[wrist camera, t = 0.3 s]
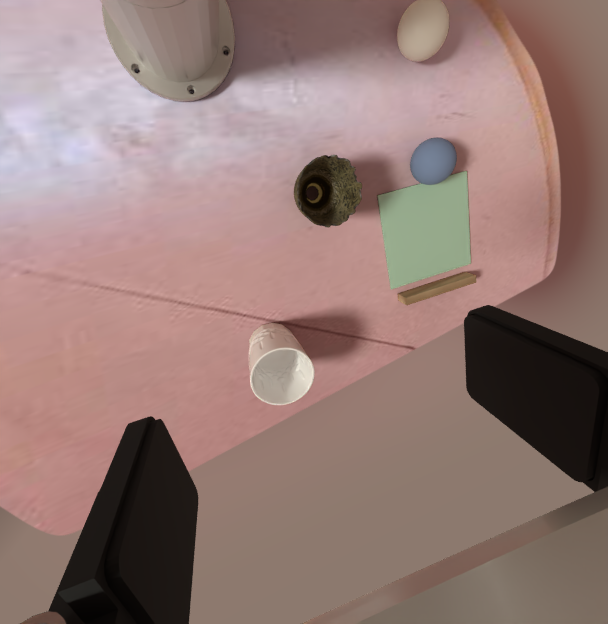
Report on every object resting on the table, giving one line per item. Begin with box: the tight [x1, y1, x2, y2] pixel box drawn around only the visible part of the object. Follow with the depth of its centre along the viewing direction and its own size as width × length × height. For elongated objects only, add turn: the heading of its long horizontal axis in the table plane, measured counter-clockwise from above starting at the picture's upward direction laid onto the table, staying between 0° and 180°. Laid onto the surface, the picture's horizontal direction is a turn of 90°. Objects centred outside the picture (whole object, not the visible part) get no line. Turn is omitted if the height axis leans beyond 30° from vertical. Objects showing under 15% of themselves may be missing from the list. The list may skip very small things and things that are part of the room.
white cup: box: [249, 323, 314, 405], centre depth 44 cm, size 8×8×10 cm
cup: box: [294, 155, 362, 227], centre depth 39 cm, size 8×7×8 cm
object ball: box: [410, 138, 457, 185], centre depth 42 cm, size 6×6×6 cm
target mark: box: [377, 171, 471, 289], centre depth 48 cm, size 14×14×1 cm
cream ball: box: [397, 0, 449, 62], centre depth 37 cm, size 6×6×6 cm
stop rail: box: [398, 272, 476, 305], centre depth 50 cm, size 1×12×2 cm, turn 104°
